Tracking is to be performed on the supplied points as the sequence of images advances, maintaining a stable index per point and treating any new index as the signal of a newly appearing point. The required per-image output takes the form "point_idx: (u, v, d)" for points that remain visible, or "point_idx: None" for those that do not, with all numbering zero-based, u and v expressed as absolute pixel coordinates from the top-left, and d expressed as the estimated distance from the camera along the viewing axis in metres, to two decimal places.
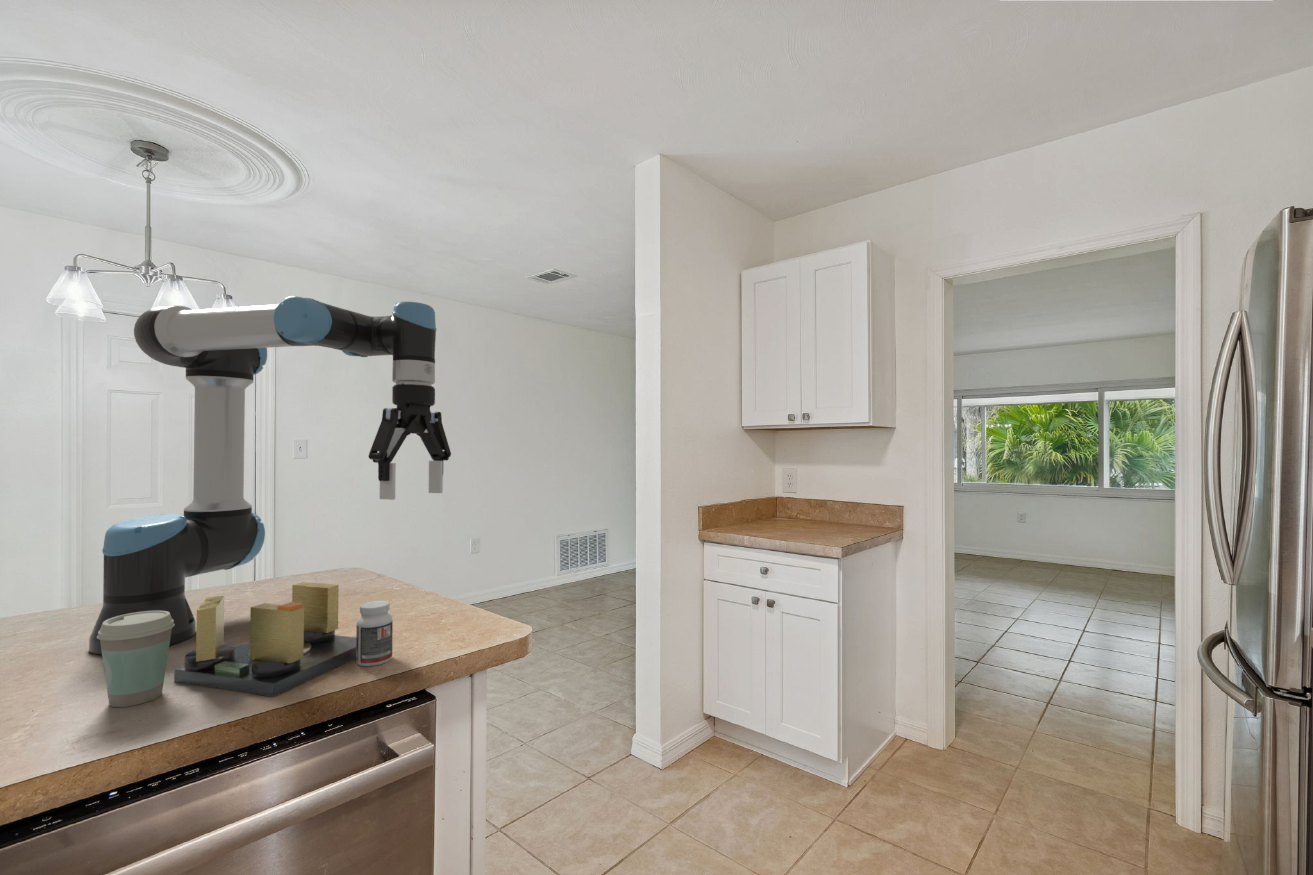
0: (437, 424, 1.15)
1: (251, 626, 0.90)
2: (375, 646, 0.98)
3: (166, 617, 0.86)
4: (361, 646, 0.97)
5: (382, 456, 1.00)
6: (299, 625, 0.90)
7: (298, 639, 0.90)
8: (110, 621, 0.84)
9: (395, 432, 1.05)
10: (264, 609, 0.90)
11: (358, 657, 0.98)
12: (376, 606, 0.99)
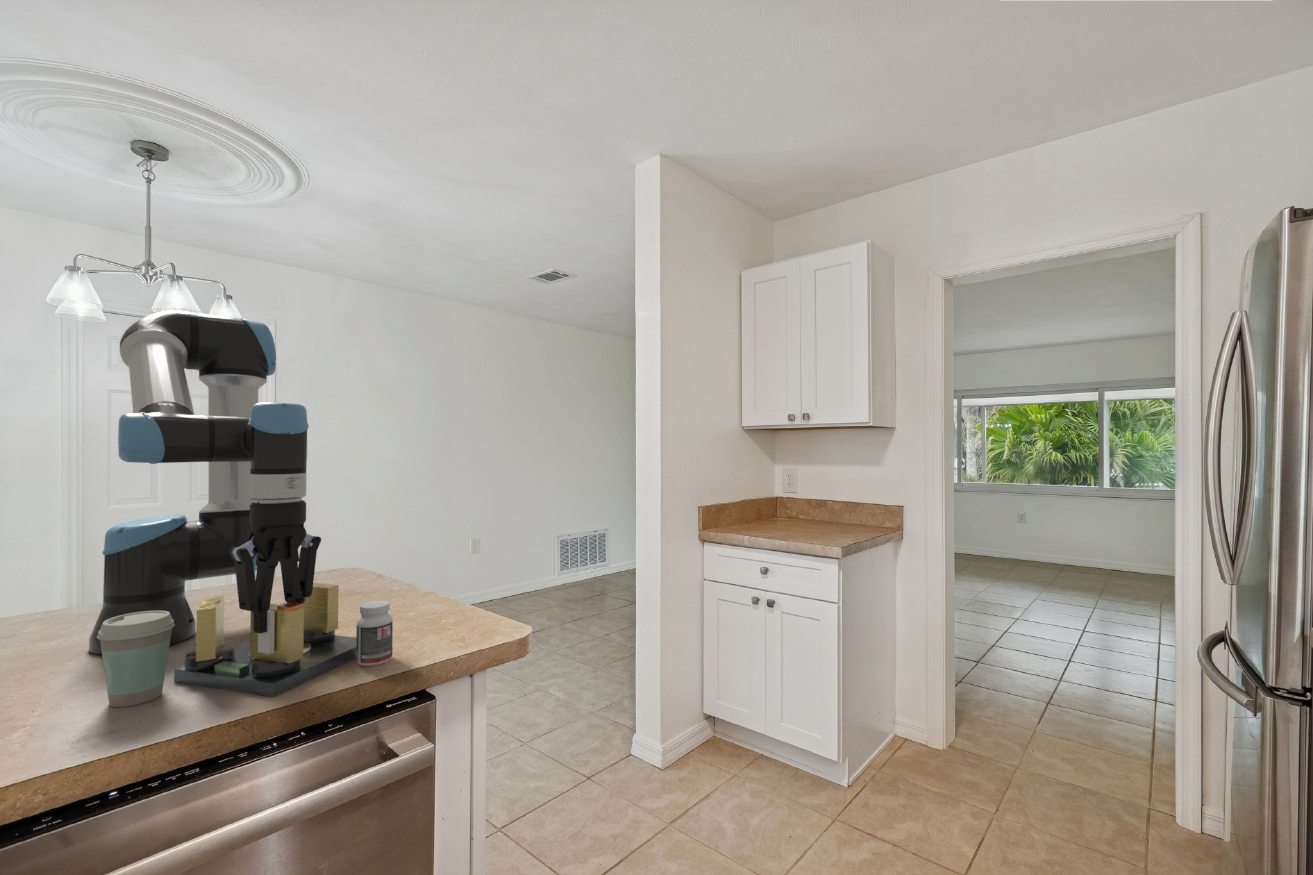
0: (309, 550, 0.95)
1: (252, 626, 0.90)
2: (375, 646, 0.98)
3: (166, 617, 0.86)
4: (361, 646, 0.97)
5: (253, 608, 0.86)
6: (299, 625, 0.90)
7: (298, 639, 0.90)
8: (110, 621, 0.84)
9: (260, 568, 0.89)
10: None
11: (358, 657, 0.98)
12: (376, 606, 0.99)
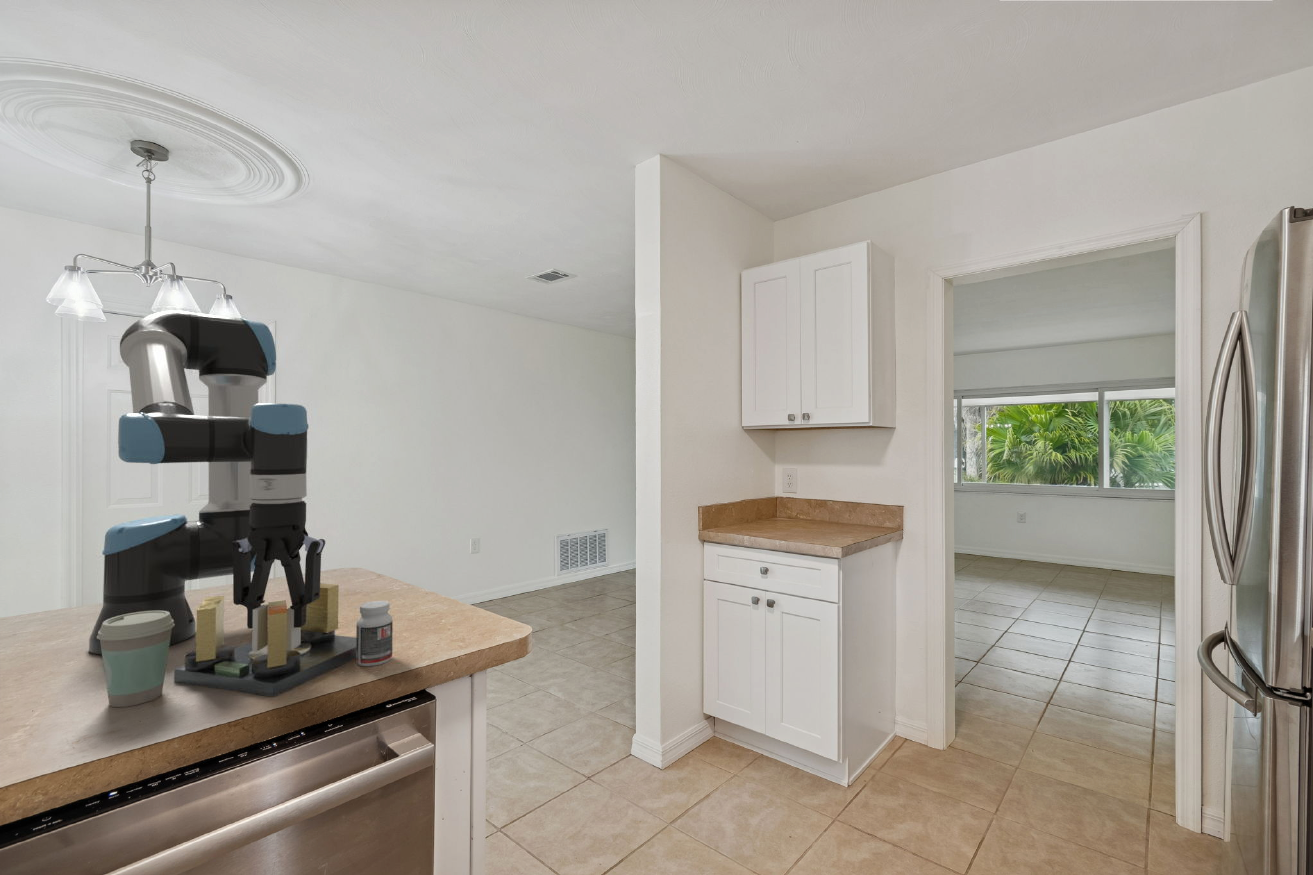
0: None
1: None
2: (375, 646, 0.98)
3: (166, 617, 0.86)
4: (361, 646, 0.97)
5: (236, 602, 0.89)
6: (280, 630, 0.88)
7: (279, 644, 0.87)
8: (110, 621, 0.84)
9: None
10: (268, 607, 0.91)
11: (358, 657, 0.98)
12: (376, 606, 0.99)
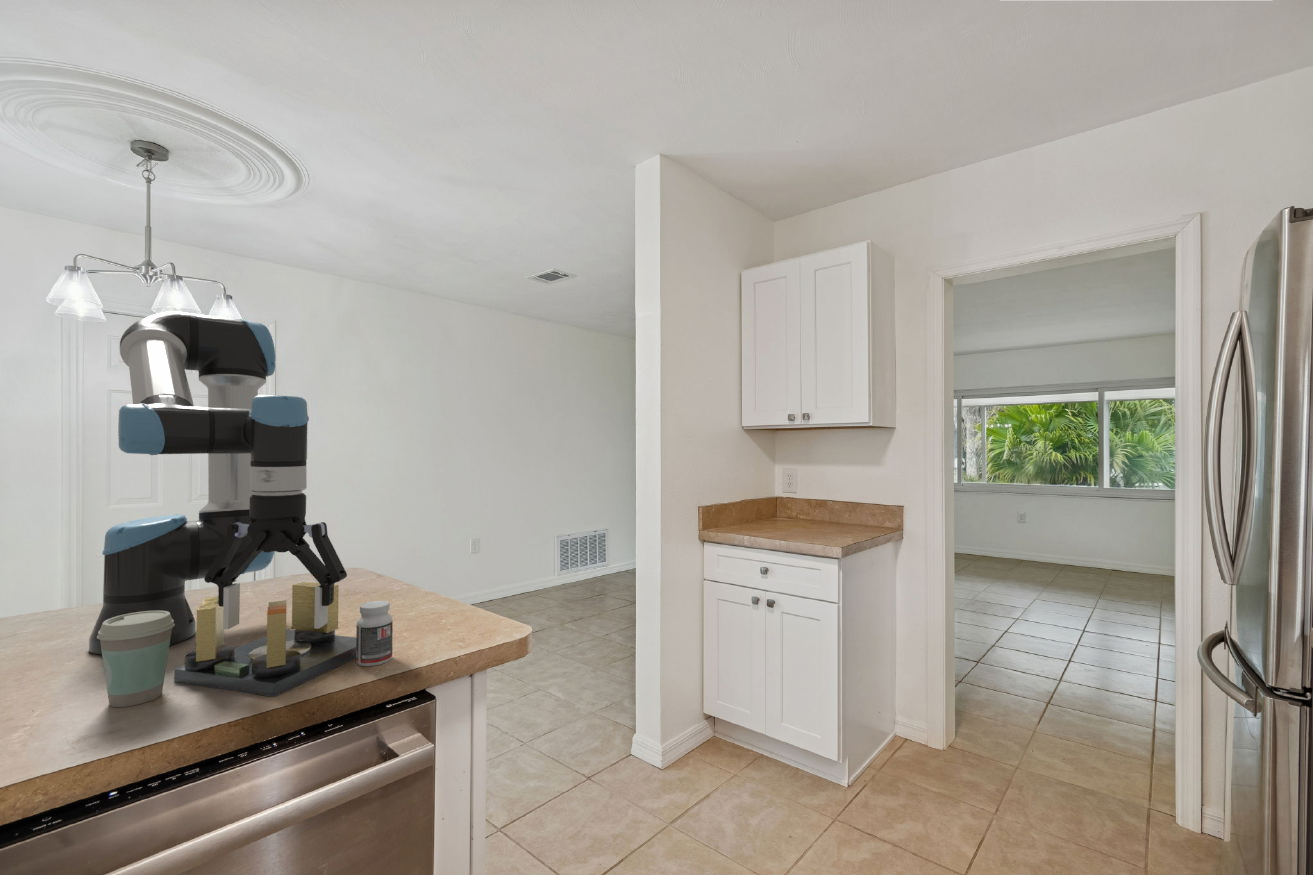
0: None
1: None
2: (375, 646, 0.98)
3: (166, 617, 0.86)
4: (361, 646, 0.97)
5: (207, 579, 0.89)
6: (279, 630, 0.87)
7: (278, 644, 0.87)
8: (110, 621, 0.84)
9: None
10: (268, 607, 0.91)
11: (358, 657, 0.98)
12: (376, 606, 0.99)
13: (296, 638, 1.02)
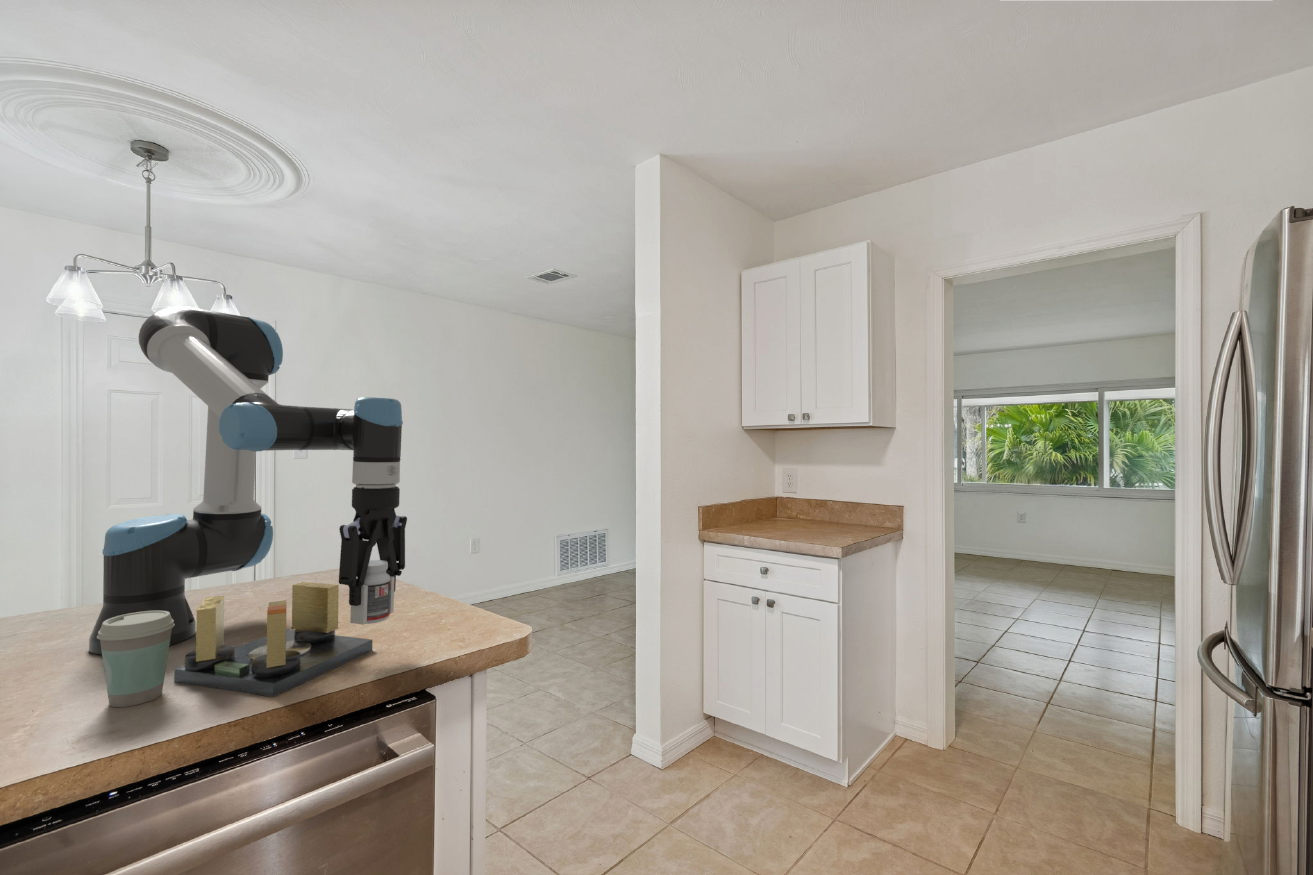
0: (399, 529, 1.05)
1: None
2: (373, 604, 0.98)
3: (166, 617, 0.86)
4: None
5: (353, 582, 0.94)
6: (279, 630, 0.87)
7: (278, 644, 0.87)
8: (110, 621, 0.84)
9: (359, 546, 0.97)
10: (268, 607, 0.91)
11: None
12: (374, 565, 0.99)
13: (296, 638, 1.02)
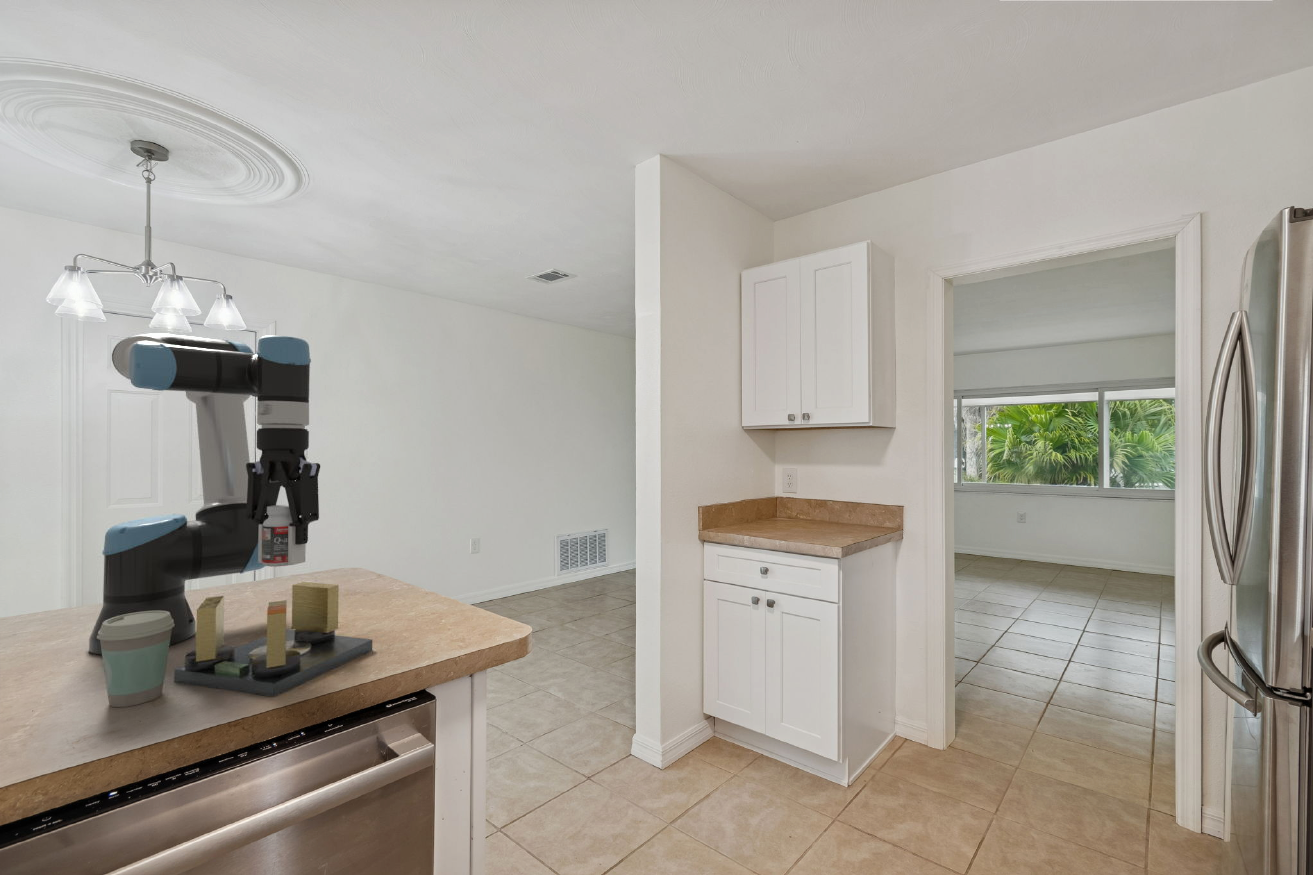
0: None
1: None
2: (262, 545, 0.97)
3: (166, 617, 0.86)
4: None
5: (247, 516, 0.98)
6: (279, 630, 0.87)
7: (278, 644, 0.87)
8: (110, 621, 0.84)
9: None
10: (268, 607, 0.91)
11: None
12: (271, 506, 0.97)
13: (296, 638, 1.02)
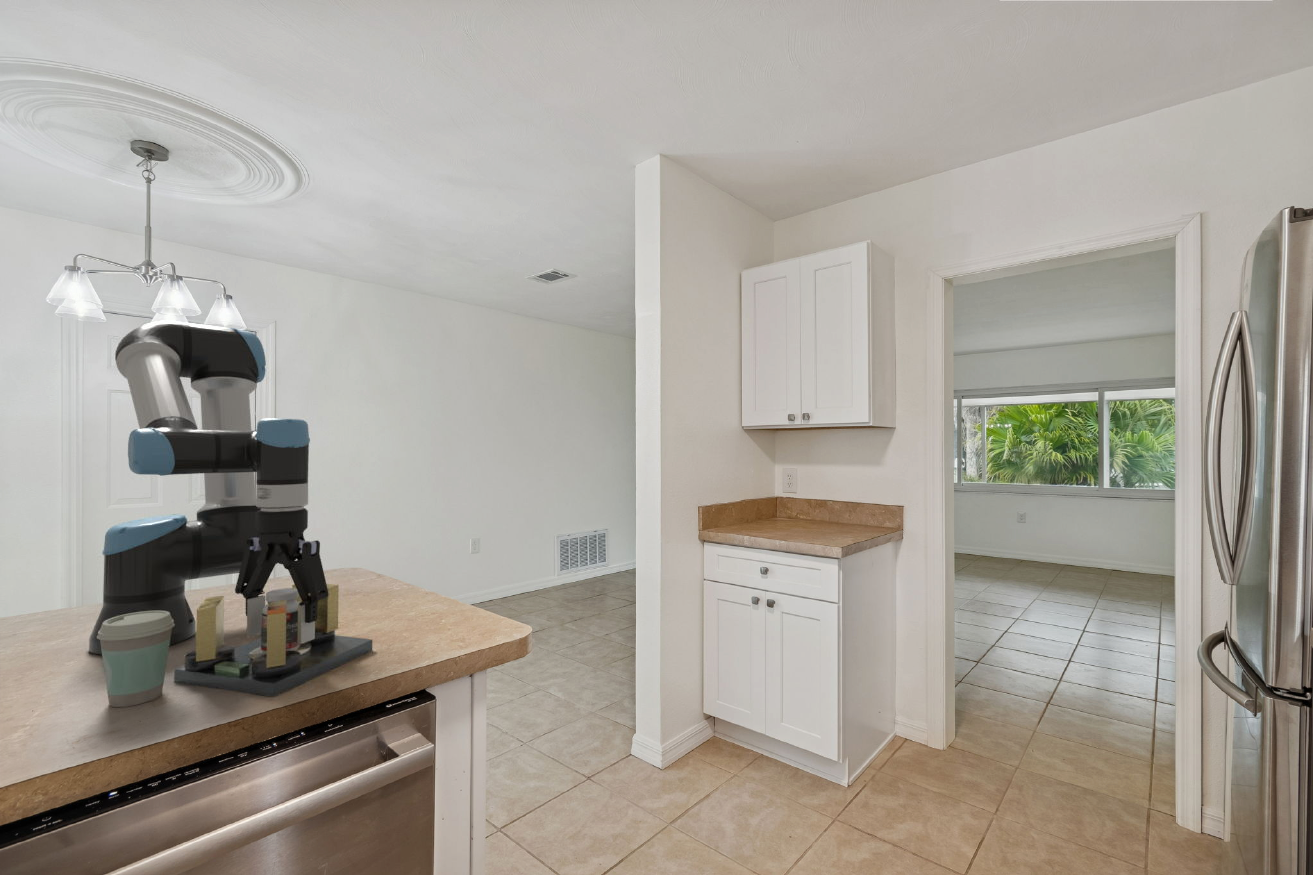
0: None
1: None
2: None
3: (166, 617, 0.86)
4: None
5: (236, 591, 0.99)
6: (279, 630, 0.87)
7: (278, 644, 0.87)
8: (110, 621, 0.84)
9: None
10: (268, 607, 0.91)
11: None
12: (270, 592, 0.97)
13: None
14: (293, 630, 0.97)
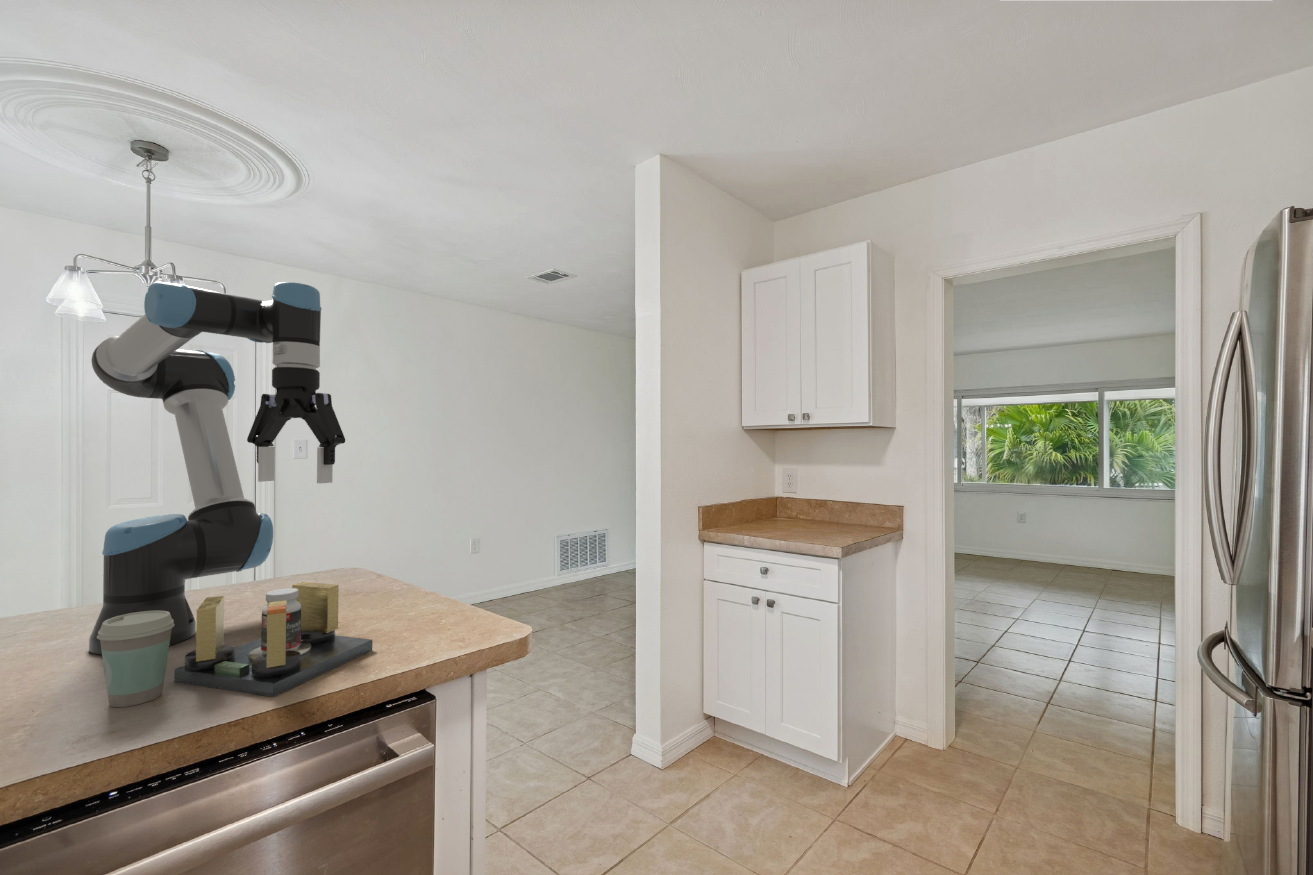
0: None
1: None
2: None
3: (166, 617, 0.86)
4: None
5: (248, 439, 1.08)
6: (279, 630, 0.87)
7: (278, 644, 0.87)
8: (110, 621, 0.84)
9: None
10: (268, 607, 0.91)
11: None
12: (270, 592, 0.97)
13: None
14: (293, 630, 0.97)
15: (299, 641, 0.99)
